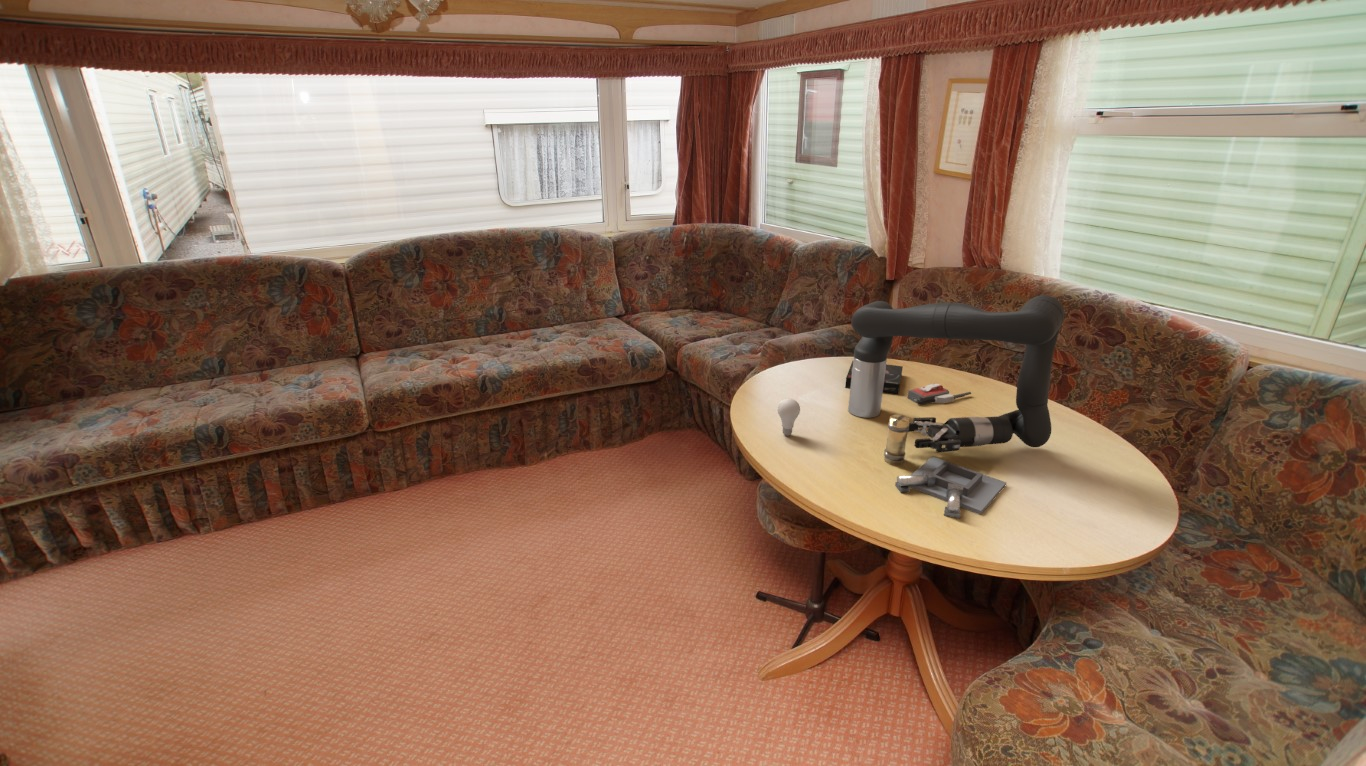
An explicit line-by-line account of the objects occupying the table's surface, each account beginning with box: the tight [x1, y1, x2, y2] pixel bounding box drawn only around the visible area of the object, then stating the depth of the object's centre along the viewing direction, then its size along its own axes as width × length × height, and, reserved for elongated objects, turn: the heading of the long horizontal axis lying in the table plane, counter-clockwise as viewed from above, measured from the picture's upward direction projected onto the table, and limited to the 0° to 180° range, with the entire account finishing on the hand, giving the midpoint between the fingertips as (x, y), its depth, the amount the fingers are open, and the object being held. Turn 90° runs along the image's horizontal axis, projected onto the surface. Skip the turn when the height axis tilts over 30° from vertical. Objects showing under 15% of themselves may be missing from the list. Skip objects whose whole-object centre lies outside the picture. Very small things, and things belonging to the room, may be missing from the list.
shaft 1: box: [894, 470, 936, 494], centre depth 148 cm, size 8×3×4 cm, turn 96°
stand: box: [908, 456, 1007, 516], centre depth 149 cm, size 16×18×3 cm
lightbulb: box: [776, 397, 801, 437], centre depth 172 cm, size 6×6×11 cm
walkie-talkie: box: [906, 382, 972, 406], centre depth 195 cm, size 9×4×20 cm
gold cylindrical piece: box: [883, 414, 910, 466], centre depth 158 cm, size 5×5×12 cm
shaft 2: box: [943, 483, 963, 519], centre depth 141 cm, size 8×3×4 cm, turn 156°
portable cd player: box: [844, 360, 903, 396], centre depth 208 cm, size 16×17×4 cm
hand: (907, 435), depth 158 cm, fingers open, 8 cm apart
